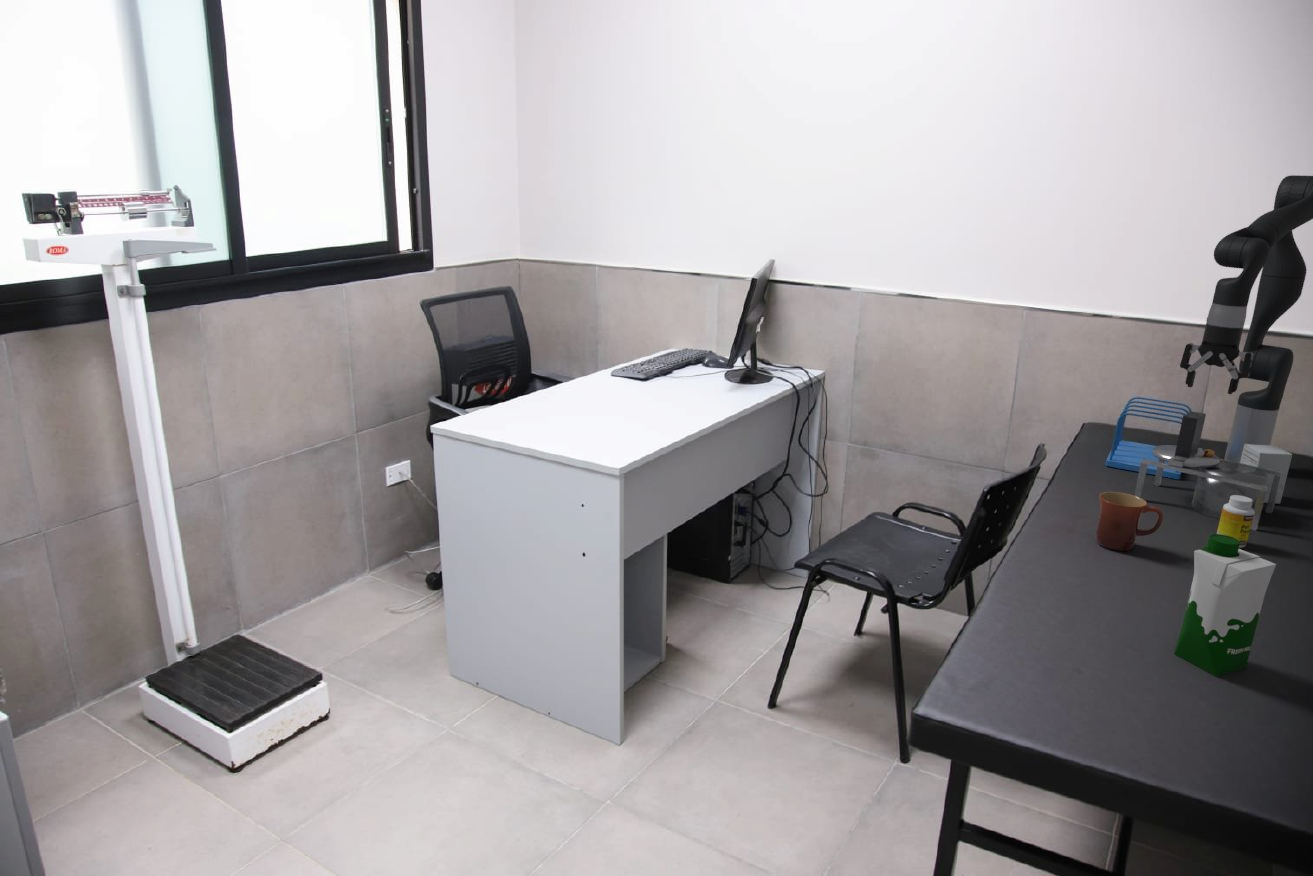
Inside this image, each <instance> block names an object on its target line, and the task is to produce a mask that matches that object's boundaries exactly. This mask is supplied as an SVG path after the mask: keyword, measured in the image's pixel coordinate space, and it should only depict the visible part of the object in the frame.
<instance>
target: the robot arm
mask: <svg viewBox="0 0 1313 876" xmlns="http://www.w3.org/2000/svg"><path fill="white" fill-rule="evenodd" d="M1273 203H1274V205H1273V210H1270V211H1267V212H1266V213H1264V214H1262V215H1260V216H1258V217H1257V218H1256V219H1255V220H1254V221H1253V222H1251V223H1250V224H1249V225H1248V226H1246V227H1243V228H1240V229H1238V230H1235V231H1233V232H1231V233H1229V234H1227V235H1226V236H1224V237H1223V238H1221V239H1220V240H1219V241H1218V243H1217V244H1216V246H1215V248H1214V249H1213V250H1214V251H1213V259H1214V261H1215V263H1216V264H1217V265H1219V266H1221V267H1224V268H1232V269H1242V271H1241V272H1240V274H1239V275H1238V276H1235V277H1226V278H1225V277H1223V278H1220V279H1219V280H1218V281H1217V282H1216V285H1215V289H1214V293H1213V297H1212V302H1211V305H1210V308H1209V310H1208V314H1207V317H1206V320H1205V322H1206V323H1205V328H1204V332H1203V336H1202V341H1201V344H1200V345H1197V344H1194V343H1191V342H1190V343H1187V344H1186V345H1185V347H1184V351H1183V355H1182V356H1181V360H1180V364H1179V367H1180V368H1181V369H1184V370H1185V371H1187V373H1186V378H1185V385H1186V386H1187V387H1188V388H1193V387H1194V384H1195V383H1194V382H1195V378H1196V374H1197V371H1196V370H1197V369H1198V368H1199V367H1201V366H1202V365H1204V364H1206V365H1207V366H1216V367H1219V368H1224V367H1225V368H1226V370H1227V371H1228V372H1229V374H1230V376H1231V377H1232V378H1230V381H1229V386H1228V389H1227V394H1228V395H1232V394H1233V393H1235V392H1236V391H1237V390H1238V387H1239V383H1240V379H1249V380H1256V381H1260V382H1266V383H1268V384H1267V386H1266V387H1265V388H1263V389H1260V390H1259V389H1258V390H1251V391H1244V392H1242V393H1240V394H1239V396H1238V400H1237V403H1236V408H1235V412H1234V417H1233V420H1232V426H1231V430H1230V434H1229V437H1228V442H1227V446H1226V449H1225V450H1226V451H1225V455H1224V460H1229V461H1233V462H1238V463H1240V461H1241V457H1242V452H1243V448H1244V444H1253V445H1272V444H1271V443H1272V439H1273V435H1274V431H1275V428H1276V423H1277V419H1278V415H1279V412H1280V407H1281V404H1282V400H1283V397H1284V394H1285V391H1286V386H1287V383H1288V381H1289V377H1290V374H1291V372H1292V371H1291V370H1292V368H1293V364H1294V363H1293V362H1294V352H1293V350H1292V349H1290V348H1288V347H1282V346H1275V345H1268V344H1263V342H1264V339H1265V337H1266V334H1267V333H1268V331H1269V329H1270V328H1272V326H1273V325H1274V324H1275V322H1276V321H1277V320H1279V319H1280V318H1281V317H1282V316H1283V315H1284V314H1286V313H1287V311H1288V310H1290V309H1291V308H1292V307H1293V306H1294V305H1296V303H1297V302H1298V300H1300V298H1301V295H1302V293H1303V289H1304V285H1305V281H1306V276H1307V265H1306V262H1305V260H1304V257H1303V255H1302V253H1301V251H1300V249H1299V247H1298V245H1297V243H1296V241H1295V238H1294V237H1295V236H1294V234H1293V231H1294V230H1295V229H1298V228H1299V227H1300V226H1302V225H1304V224H1306V223H1308V222H1309V221H1312V220H1313V175H1293V174H1291V175H1287V176H1285V177H1284V178H1283V179H1282V180H1281V181H1280V183H1279V185H1278V187H1277V190H1276V194H1275V199H1274V202H1273ZM1260 272H1261V273H1260ZM1259 274H1261V275H1260V277H1259V283H1258V287H1257V294H1256V298H1255V299H1256V300H1255V303H1254V308H1253V312H1252V313H1253V314H1252V317H1251V322H1250V325H1249V328H1248V332H1247V335H1246V339H1245V341H1244V346H1243V349H1242V351H1240V344H1241V340H1242V339H1241V338H1242V335H1243V332H1244V331H1243V330H1244V327H1245V323H1246V318H1247V312H1248V311H1247V310H1248V304H1249V301H1250V296H1251V293H1252V289H1253V286H1254V285H1255V282H1256V280H1257V278H1258V276H1259ZM1196 351H1198V353H1199V355H1200V358H1199V359H1197V360H1196V361H1195V362H1193V364H1190V360H1191V357H1192V354H1195V352H1196ZM1238 357H1240V359H1239V365H1238V367H1237V365H1236V363H1235V362H1234V361H1235V360H1236V359H1237V358H1238Z"/></svg>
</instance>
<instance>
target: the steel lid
mask: <svg viewBox="0 0 1313 876" xmlns="http://www.w3.org/2000/svg"><path fill="white" fill-rule="evenodd" d="M1185 414H1186V415H1182V417H1183V419H1181V422H1182V424H1180V430H1179V434H1178V437H1177V443H1176V445H1174V444H1173V445H1172V444H1164V445H1155V446H1156V447H1154V449H1153V453H1152V454H1153V456H1154V457H1156V458H1158V459H1160V460H1162V461H1165V462H1168V464H1169V465H1174V466H1178V467H1182V468H1184V467H1187V468H1199V469H1200V468H1213V467H1217V466H1218V465H1219V461H1220V459H1221V458H1220V457H1219V456H1218V455H1216V454H1215V452H1216V451H1215V450H1213V449H1209V448H1208V449H1207V448H1205V449H1204V450H1203V448H1201V447H1200V443H1201V438H1202V434H1203V430H1204V429H1203V428H1204V426H1205V425H1204V423H1205V421H1206V417H1207V416H1206V415H1207V413H1203V412H1198V411H1194V410H1193V411H1192V410H1191V412H1190V413H1188V414H1187V413H1185Z"/></svg>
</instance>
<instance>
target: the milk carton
mask: <svg viewBox="0 0 1313 876" xmlns="http://www.w3.org/2000/svg"><path fill="white" fill-rule="evenodd" d="M1239 545H1240V542H1239V540H1237V539H1235V538H1233V537H1230V536H1226V535H1221V534H1217V533H1216V534H1215V533H1213V534H1210V535H1209V538H1208V541H1207V544H1206V546H1204V547H1201V548H1199V549H1196V550H1194V551H1193V552H1194V553H1193V554H1194V558H1193V559H1194V561H1193V562H1194V565H1193V566H1194V569H1193V571H1194V572H1193V578H1192V582H1191V587H1190V591H1189V595H1188V600H1187V605H1186V607H1185V613H1184V617H1183V621H1182V623H1181V627H1180V631H1179V636H1178V638H1177V641H1176V646H1175V649H1174V653H1173V655H1175V656H1178V657H1179V658H1181V659H1183V660H1185V661H1186V662H1189V663H1190V664H1192V665H1194V666H1196V667H1197V668H1200V669H1201V670H1203V671H1205V672H1207V673H1208V674H1210V675H1212V676H1214V677H1220V676H1224V675H1226V674H1230V673H1234V672H1237V671H1240V670H1244V669H1247V665H1248V661H1249V657H1250V653H1251V649H1252V646H1253V642H1254V637H1255V633H1256V629H1257V626H1258V623H1259V619H1260V615H1261V610H1262V608H1263V607H1262V606H1263V603H1264V599H1265V595H1266V593H1267V589H1268V586H1269V585H1270V584H1269V583H1270V581H1271V578H1272V575H1273V574H1274V571H1275V569H1276V566H1277V563H1274V562H1272V561H1270V560H1267V559H1264V558H1261V556H1259V555H1257V554H1256V553H1255V554H1254V553H1251V552H1248V551H1246V550H1242V549H1241V548H1239Z"/></svg>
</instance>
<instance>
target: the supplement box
mask: <svg viewBox="0 0 1313 876" xmlns="http://www.w3.org/2000/svg"><path fill="white" fill-rule="evenodd" d="M1292 457H1293V453H1291V452H1288V451H1286V450H1285V449H1282V448H1281V447H1278V446H1276V445H1272V444H1270V445H1253V444H1244V448H1243V452H1242V457H1241V461H1240V463H1243V464H1247V465H1252V466H1257V467H1262V468H1266V469H1271V470H1276V471H1280V472H1282V477H1281V481H1280V484H1279V488H1278V492H1277V496H1276V500H1275V504H1281V502H1282V497H1283V493H1284V489H1285V486H1286V481H1287V478H1288V473H1289V470H1290V466H1291V461H1292ZM1265 474H1266V475H1267V481H1266V485H1265V486H1266V487H1267V492H1266V496H1265V500H1264V504H1267V503H1268V499H1269V495H1270V491H1271V487H1272V483H1273V479H1274V475H1273V474H1268V473H1265Z"/></svg>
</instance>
